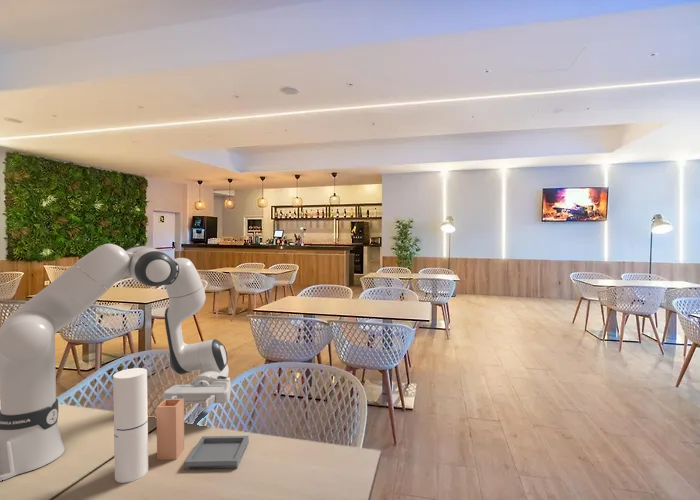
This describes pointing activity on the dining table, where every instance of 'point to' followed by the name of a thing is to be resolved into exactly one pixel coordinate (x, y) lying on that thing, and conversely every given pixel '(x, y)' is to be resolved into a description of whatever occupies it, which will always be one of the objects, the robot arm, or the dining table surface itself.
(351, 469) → the dining table surface
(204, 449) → the tray
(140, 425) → the cylindrical container
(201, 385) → the robot arm
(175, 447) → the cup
